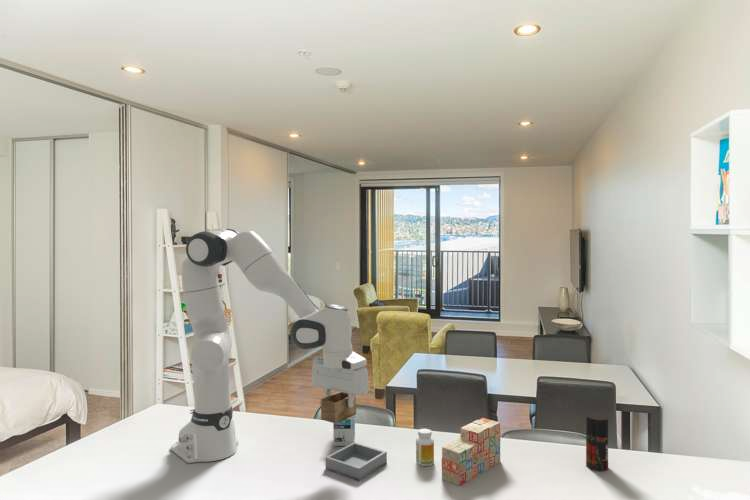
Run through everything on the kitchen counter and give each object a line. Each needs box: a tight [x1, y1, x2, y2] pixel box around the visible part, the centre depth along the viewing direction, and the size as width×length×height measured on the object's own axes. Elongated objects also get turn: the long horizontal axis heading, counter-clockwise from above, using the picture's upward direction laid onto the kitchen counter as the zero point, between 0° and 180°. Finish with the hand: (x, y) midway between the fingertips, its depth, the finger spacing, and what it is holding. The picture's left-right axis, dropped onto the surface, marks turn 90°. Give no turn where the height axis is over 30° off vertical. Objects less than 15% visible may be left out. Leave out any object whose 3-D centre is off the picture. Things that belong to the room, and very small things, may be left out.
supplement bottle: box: [415, 428, 435, 467], centre depth 149 cm, size 5×5×10 cm
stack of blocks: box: [441, 417, 501, 487], centre depth 144 cm, size 21×6×12 cm, turn 135°
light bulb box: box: [332, 415, 356, 447], centre depth 167 cm, size 11×7×11 cm, turn 179°
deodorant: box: [585, 412, 609, 472], centre depth 146 cm, size 6×6×15 cm
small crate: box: [320, 391, 357, 424], centre depth 147 cm, size 9×6×6 cm, turn 143°
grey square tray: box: [324, 441, 388, 482], centre depth 147 cm, size 13×14×4 cm
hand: (340, 404), depth 147 cm, fingers closed on small crate, 6 cm apart
